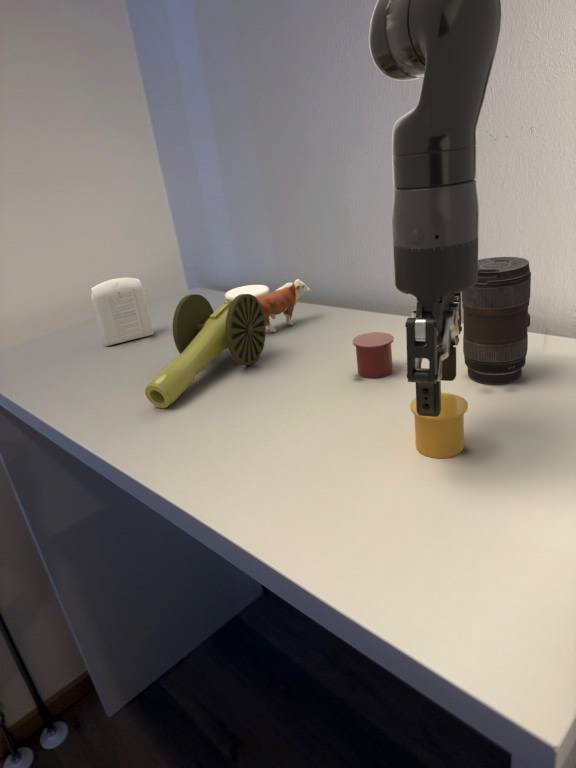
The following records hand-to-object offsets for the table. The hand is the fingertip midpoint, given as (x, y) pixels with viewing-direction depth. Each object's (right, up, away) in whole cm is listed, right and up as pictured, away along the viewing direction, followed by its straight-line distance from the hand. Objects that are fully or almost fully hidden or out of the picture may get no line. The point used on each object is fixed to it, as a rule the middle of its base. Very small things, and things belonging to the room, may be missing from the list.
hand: (437, 395), depth 56 cm
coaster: (-24, +19, +66) cm, 72 cm away
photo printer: (-48, +10, +54) cm, 73 cm away
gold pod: (+1, -5, +3) cm, 6 cm away
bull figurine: (-17, +12, +48) cm, 52 cm away
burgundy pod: (-3, +3, +23) cm, 23 cm away
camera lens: (+12, +2, +17) cm, 21 cm away
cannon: (-28, +2, +31) cm, 42 cm away
